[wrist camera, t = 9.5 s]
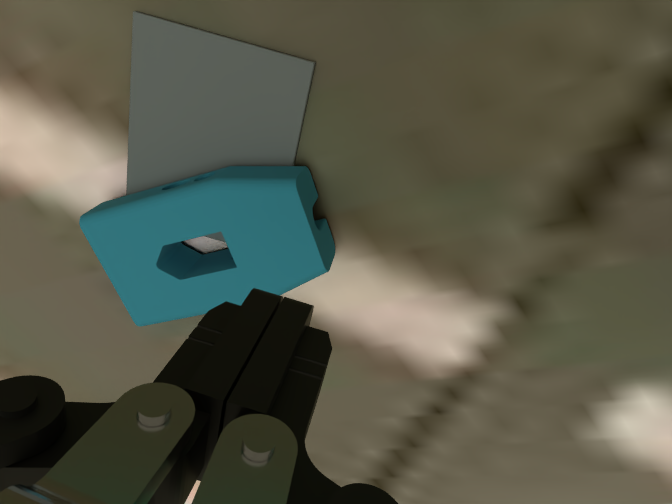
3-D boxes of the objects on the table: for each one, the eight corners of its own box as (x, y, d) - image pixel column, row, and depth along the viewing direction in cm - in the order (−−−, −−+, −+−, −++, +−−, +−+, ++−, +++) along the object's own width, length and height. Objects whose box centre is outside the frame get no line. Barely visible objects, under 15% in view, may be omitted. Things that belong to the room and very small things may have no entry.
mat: (315, 62, 38) (314, 62, 38) (275, 253, 47) (273, 256, 46) (137, 11, 39) (133, 11, 38) (129, 210, 47) (125, 212, 47)
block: (333, 293, 41) (138, 330, 47) (342, 265, 46) (163, 302, 51) (286, 160, 37) (75, 218, 42) (300, 144, 41) (108, 198, 46)
